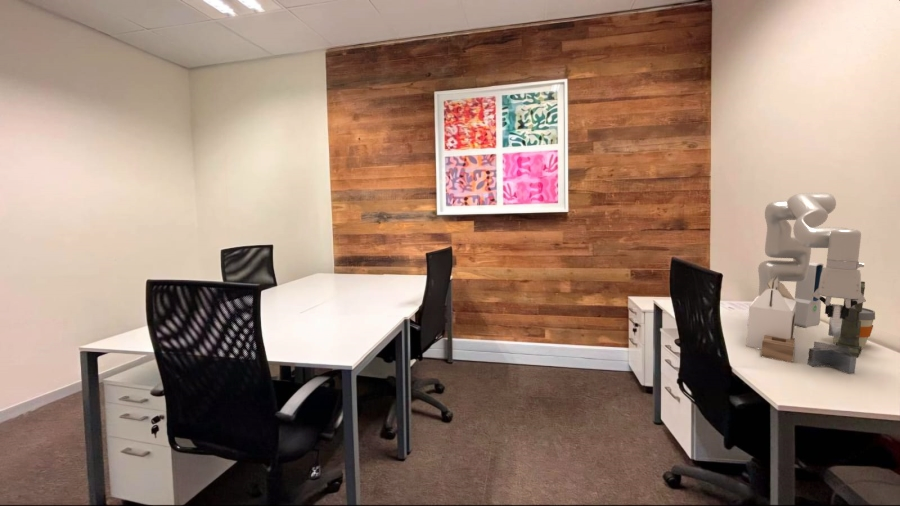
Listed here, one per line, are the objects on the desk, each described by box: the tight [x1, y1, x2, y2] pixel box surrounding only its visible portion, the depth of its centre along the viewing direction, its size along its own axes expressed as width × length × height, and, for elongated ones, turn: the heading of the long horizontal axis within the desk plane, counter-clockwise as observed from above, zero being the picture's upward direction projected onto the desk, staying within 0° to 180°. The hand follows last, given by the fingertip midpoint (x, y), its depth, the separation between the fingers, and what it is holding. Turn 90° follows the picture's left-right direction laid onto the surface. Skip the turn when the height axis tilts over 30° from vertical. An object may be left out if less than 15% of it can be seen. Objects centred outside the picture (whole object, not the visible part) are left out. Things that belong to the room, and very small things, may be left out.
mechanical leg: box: [835, 280, 866, 358], centre depth 148 cm, size 14×7×30 cm, turn 134°
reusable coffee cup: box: [833, 307, 876, 349], centre depth 158 cm, size 12×13×15 cm
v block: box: [807, 341, 857, 374], centre depth 139 cm, size 12×12×6 cm
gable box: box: [745, 276, 796, 350], centre depth 160 cm, size 22×13×28 cm, turn 135°
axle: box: [827, 303, 844, 337], centre depth 134 cm, size 3×3×11 cm
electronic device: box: [794, 262, 824, 328], centre depth 183 cm, size 12×8×30 cm, turn 114°
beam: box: [760, 335, 796, 363], centre depth 149 cm, size 12×9×6 cm
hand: (836, 316), depth 134 cm, fingers closed on axle, 3 cm apart
